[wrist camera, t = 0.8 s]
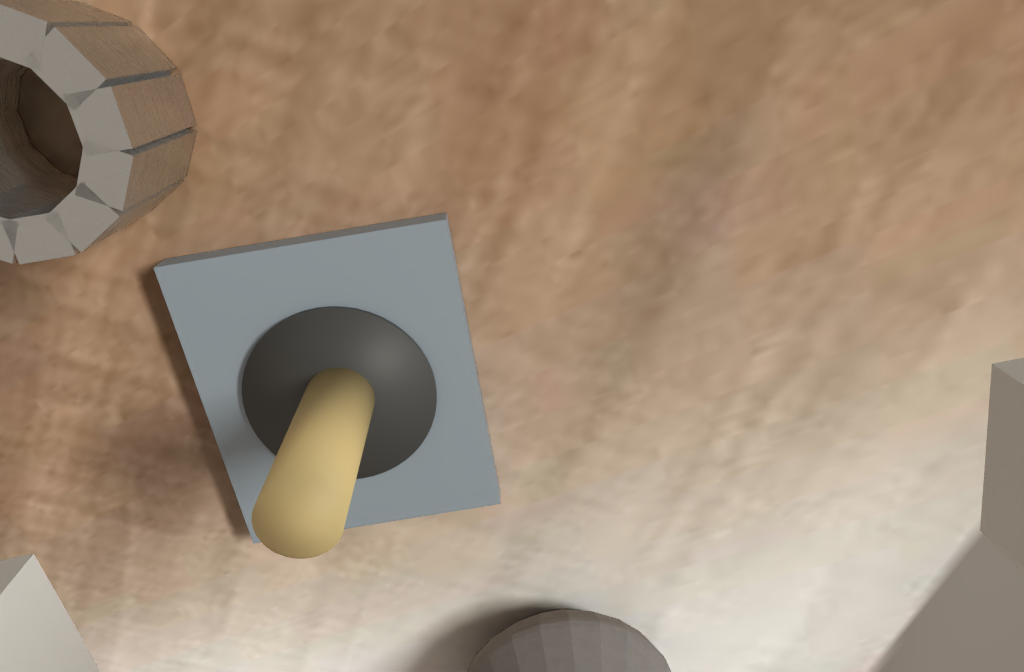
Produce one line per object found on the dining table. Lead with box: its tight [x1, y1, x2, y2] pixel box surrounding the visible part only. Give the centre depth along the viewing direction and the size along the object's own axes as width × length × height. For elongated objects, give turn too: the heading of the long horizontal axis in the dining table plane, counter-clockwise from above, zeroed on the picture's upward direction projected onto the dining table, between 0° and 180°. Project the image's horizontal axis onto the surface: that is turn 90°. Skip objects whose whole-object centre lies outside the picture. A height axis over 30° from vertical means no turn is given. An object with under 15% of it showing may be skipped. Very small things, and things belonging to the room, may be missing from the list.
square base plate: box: [154, 213, 501, 558], centre depth 29 cm, size 14×12×10 cm
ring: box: [0, 0, 197, 264], centre depth 26 cm, size 8×8×6 cm
